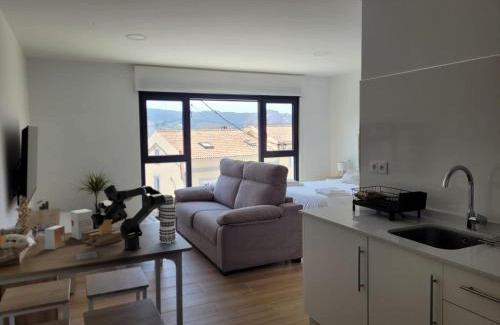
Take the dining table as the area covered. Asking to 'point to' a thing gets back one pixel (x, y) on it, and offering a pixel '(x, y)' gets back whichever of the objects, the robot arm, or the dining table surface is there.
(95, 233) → the rack
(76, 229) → the supplement box
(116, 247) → the dining table surface
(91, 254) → the mat
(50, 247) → the small box
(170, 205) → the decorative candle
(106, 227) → the rectangular block
